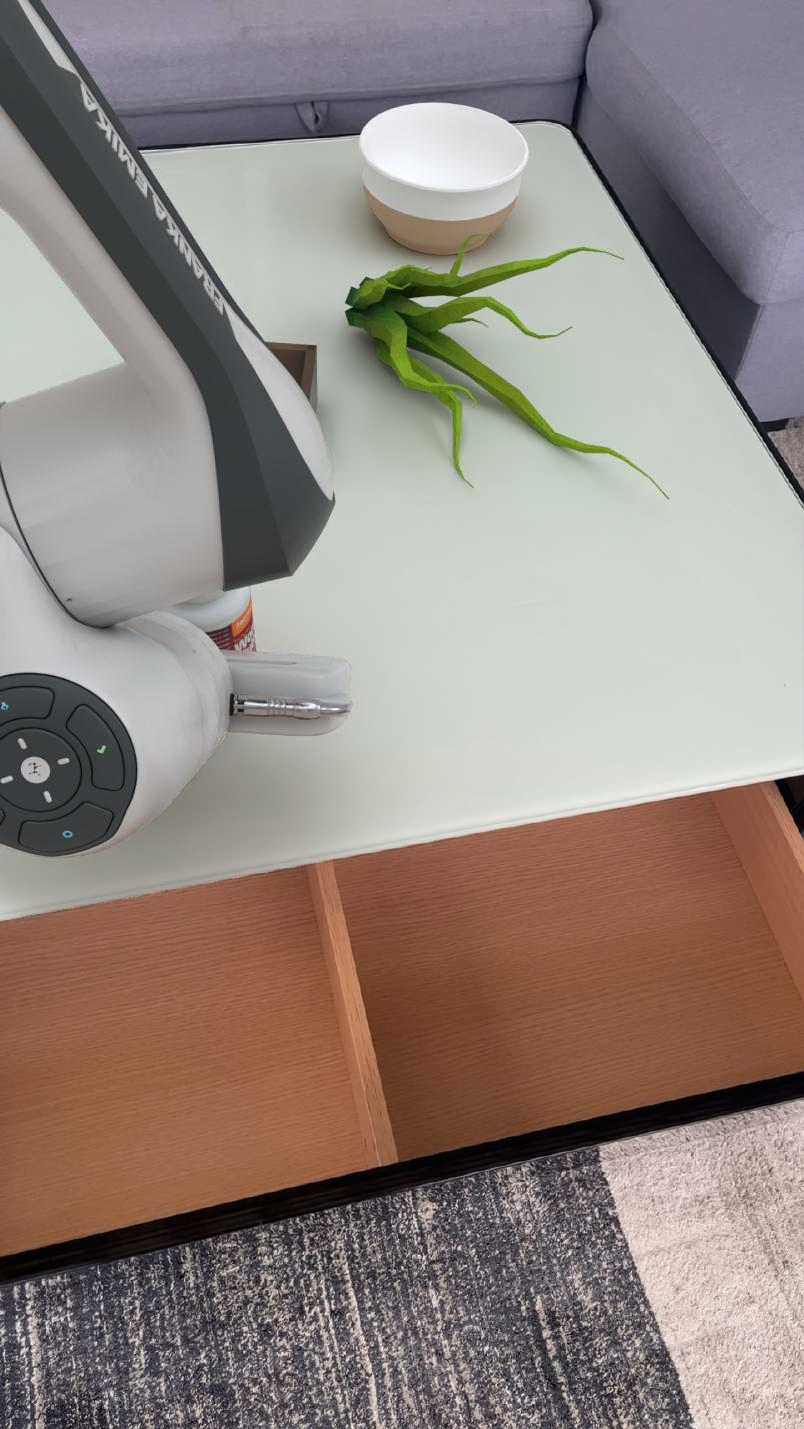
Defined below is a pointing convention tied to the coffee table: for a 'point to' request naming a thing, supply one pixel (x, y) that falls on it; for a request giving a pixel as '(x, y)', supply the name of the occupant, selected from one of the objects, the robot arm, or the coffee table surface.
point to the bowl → (441, 174)
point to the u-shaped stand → (299, 366)
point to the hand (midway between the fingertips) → (193, 666)
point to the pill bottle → (221, 617)
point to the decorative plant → (416, 327)
